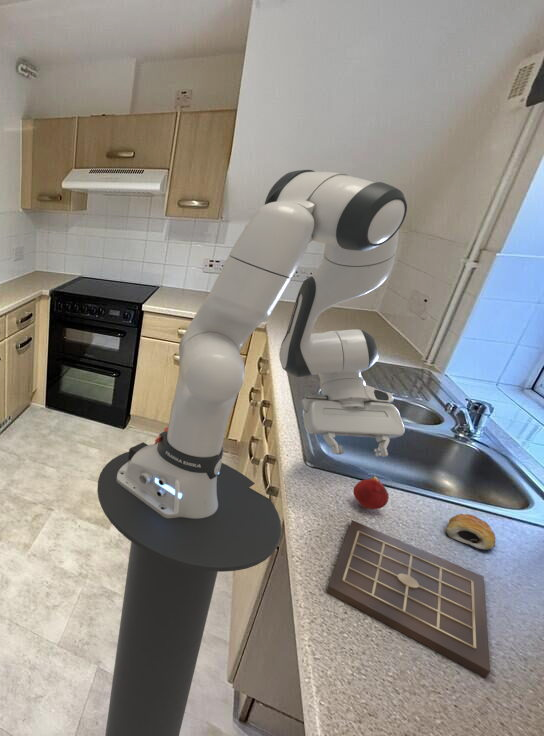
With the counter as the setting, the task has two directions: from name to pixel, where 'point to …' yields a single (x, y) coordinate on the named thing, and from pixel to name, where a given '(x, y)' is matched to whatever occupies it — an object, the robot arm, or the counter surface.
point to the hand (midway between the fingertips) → (360, 455)
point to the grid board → (415, 594)
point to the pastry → (471, 531)
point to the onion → (371, 493)
